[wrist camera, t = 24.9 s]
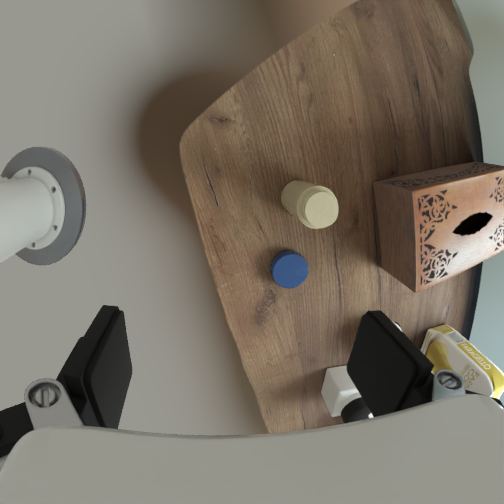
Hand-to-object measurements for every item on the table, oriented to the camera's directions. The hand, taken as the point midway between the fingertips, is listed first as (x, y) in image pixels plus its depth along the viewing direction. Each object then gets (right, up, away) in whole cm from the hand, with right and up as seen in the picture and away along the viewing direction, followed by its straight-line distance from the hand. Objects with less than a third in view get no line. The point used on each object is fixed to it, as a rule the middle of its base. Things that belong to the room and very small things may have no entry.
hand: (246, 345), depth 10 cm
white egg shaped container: (+23, -10, +38) cm, 46 cm away
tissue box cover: (+32, +11, +33) cm, 48 cm away
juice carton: (+40, -16, +43) cm, 61 cm away
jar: (+7, +11, +29) cm, 32 cm away
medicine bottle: (+18, -21, +42) cm, 50 cm away
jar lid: (+6, +1, +31) cm, 32 cm away
